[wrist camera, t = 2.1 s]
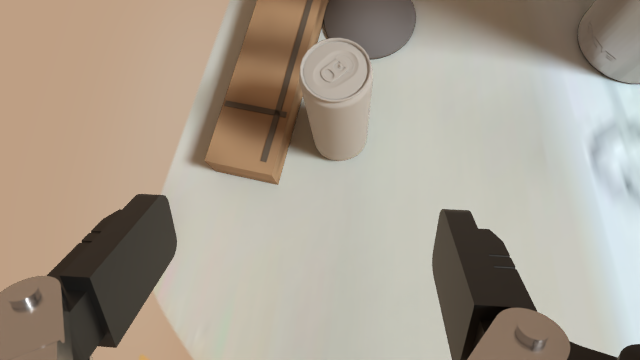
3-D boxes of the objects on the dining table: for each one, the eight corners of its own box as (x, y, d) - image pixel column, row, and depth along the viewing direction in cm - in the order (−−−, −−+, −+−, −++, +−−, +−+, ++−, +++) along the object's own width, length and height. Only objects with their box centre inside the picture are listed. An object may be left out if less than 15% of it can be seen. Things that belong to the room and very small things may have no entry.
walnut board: (282, -40, 43) (277, -64, 40) (337, -32, 42) (336, -57, 39) (215, 171, 37) (203, 160, 34) (278, 184, 36) (271, 175, 33)
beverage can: (377, 141, 36) (389, 72, 25) (336, 173, 36) (329, 118, 24) (344, 104, 38) (340, 22, 26) (303, 135, 37) (282, 65, 25)
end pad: (395, -29, 41) (395, -32, 41) (429, 41, 39) (430, 39, 38) (312, -2, 41) (312, -5, 41) (341, 71, 38) (341, 69, 38)
